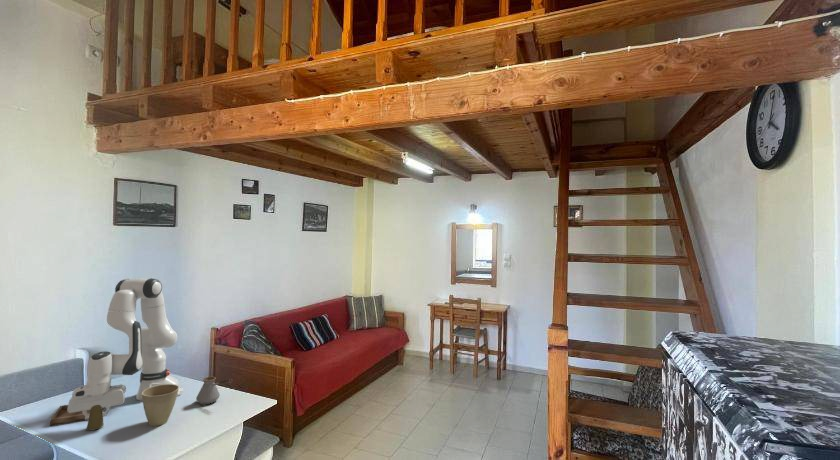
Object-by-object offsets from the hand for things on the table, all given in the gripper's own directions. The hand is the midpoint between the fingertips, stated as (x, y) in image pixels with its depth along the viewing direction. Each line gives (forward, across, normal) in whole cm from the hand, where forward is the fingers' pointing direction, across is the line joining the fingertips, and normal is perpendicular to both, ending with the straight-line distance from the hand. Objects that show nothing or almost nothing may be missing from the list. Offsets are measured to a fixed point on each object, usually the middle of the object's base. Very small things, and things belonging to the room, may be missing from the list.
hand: (96, 417), depth 169 cm
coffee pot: (+6, -50, -4) cm, 50 cm away
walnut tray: (+5, +9, -20) cm, 23 cm away
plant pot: (+5, -24, +7) cm, 26 cm away
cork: (+4, 0, 0) cm, 5 cm away
